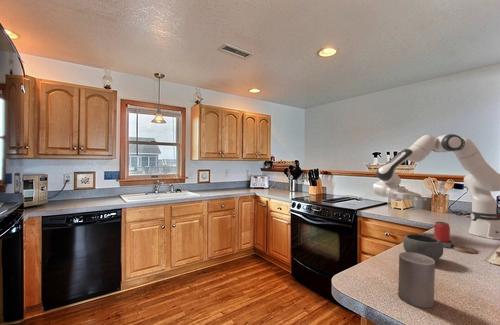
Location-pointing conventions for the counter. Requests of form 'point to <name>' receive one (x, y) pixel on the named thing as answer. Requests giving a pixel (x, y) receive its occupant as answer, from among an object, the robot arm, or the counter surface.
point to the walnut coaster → (465, 249)
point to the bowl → (423, 245)
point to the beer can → (442, 232)
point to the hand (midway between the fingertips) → (422, 199)
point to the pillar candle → (416, 279)
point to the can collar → (448, 244)
